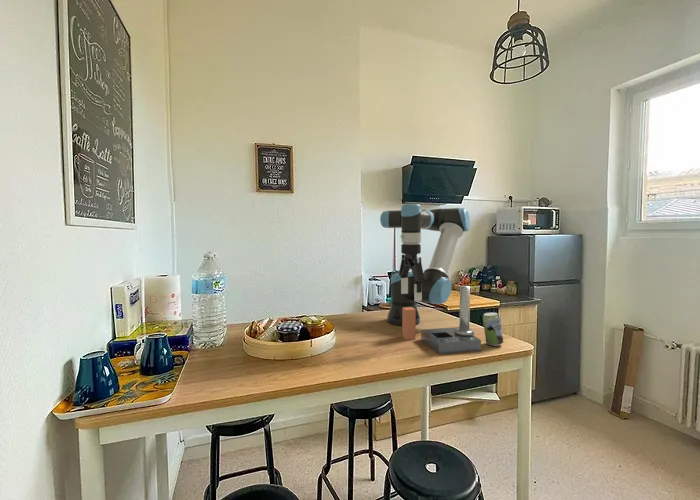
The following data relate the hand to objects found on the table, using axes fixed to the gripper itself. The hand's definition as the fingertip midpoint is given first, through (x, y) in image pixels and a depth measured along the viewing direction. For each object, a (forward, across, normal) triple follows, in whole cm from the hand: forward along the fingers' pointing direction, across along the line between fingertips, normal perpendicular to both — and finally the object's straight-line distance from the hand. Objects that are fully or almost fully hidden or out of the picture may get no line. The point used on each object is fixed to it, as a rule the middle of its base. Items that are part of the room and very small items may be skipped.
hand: (410, 297), depth 138 cm
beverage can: (+17, +15, +27) cm, 35 cm away
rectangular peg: (+17, 0, -1) cm, 17 cm away
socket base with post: (+17, +11, +11) cm, 23 cm away
